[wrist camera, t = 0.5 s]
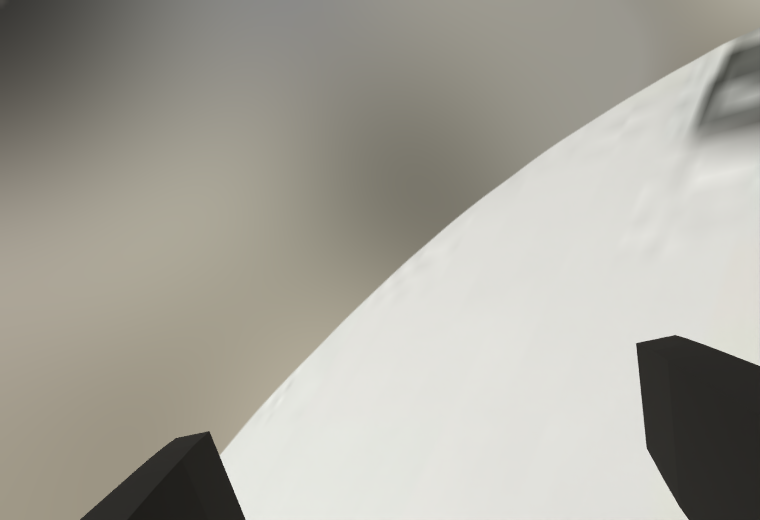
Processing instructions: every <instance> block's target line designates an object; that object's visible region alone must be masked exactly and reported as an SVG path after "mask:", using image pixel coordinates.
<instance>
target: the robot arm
mask: <svg viewBox="0 0 760 520" xmlns="http://www.w3.org/2000/svg"><path fill="white" fill-rule="evenodd" d="M636 346H637V356H638V366H639V376H640V386H641V395H642V405H643V415H644V425H645V435H646V445H647V449H648V451H649V453H650V455H651V457H652V459H653V460H654V462H655V464H656V466H657V468H658V470H659V471H660V473H661V475H662V477H663V479H664V481H665V482H666V484H667V486H668V487H669V489H670V491H671V493H672V494H673V496H674V498H675V500H676V501H677V503H678V505H679V507H680V508H681V509H682V511H683V512H684V514H685V515H686V516H687V518H688V519H689V520H760V366H758V365H755V364H753V363H750V362H748V361H745V360H743V359H740V358H737V357H735V356H732V355H730V354H727V353H724V352H722V351H719V350H717V349H714V348H711V347H709V346H706V345H703V344H701V343H698V342H695V341H692V340H689V339H686V338H683V337H680V336H676V335H674V336H669V337H664V338H659V339H655V340H650V341H645V342H640V343H636ZM80 520H245V517H244V515H243V512H242V510H241V507H240V505H239V503H238V500H237V498H236V495H235V493H234V490H233V488H232V485H231V483H230V481H229V478H228V476H227V473H226V471H225V468H224V466H223V464H222V461H221V459H220V456H219V454H218V451H217V449H216V446H215V444H214V442H213V439H212V437H211V434H210V432H209V431H208V432H204V433H199V434H194V435H189V436H184V437H179V438H176V439H174V440H173V441H171V442H170V443H169V444H167V445H166V446H165V447H163V448H162V449H161V450H160V451H158V452H157V453H156V454H155V455H154V456H152V457H151V458H150V459H149V460H148V461H146V462H145V463H144V464H143V465H142V466H141V467H139V468H138V469H137V470H136V471H135V472H134V473H132V475H130V476H129V477H128V478H127V479H126V480H125V481H123V482H122V483H121V484H120V485H119V486H118V487H117V488H116V489H114V490H113V491H112V492H111V493H110V494H109V495H108V496H106V497H105V498H104V499H103V500H102V501H101V502H100V503H98V504H97V505H96V506H95V507H94V508H93V509H92V510H90V511H89V512H88V513H87V514H86V515H85V516H84V517H83V518H81V519H80Z"/></svg>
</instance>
